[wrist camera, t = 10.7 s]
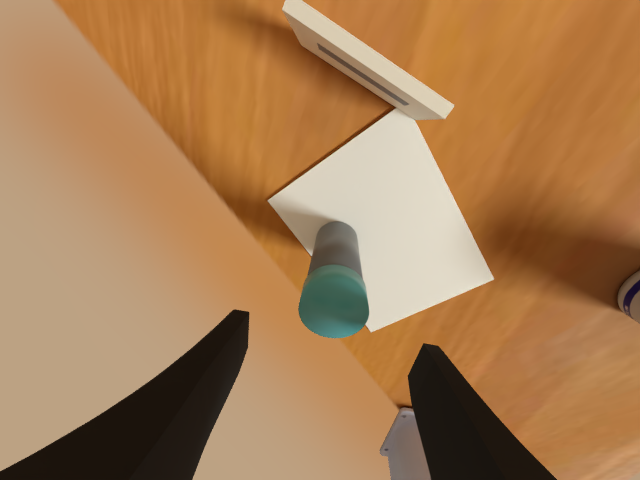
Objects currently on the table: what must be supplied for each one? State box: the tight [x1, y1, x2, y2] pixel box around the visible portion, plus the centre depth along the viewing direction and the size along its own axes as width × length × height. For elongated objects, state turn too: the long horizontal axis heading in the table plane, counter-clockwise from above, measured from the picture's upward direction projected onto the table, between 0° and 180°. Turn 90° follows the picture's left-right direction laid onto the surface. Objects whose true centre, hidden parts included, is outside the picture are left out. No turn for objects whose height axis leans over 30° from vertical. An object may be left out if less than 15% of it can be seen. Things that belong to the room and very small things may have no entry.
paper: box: [267, 108, 494, 332], centre depth 19 cm, size 15×11×1 cm
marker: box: [299, 221, 369, 338], centre depth 16 cm, size 3×3×8 cm
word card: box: [282, 0, 455, 120], centre depth 12 cm, size 1×8×5 cm, turn 61°
